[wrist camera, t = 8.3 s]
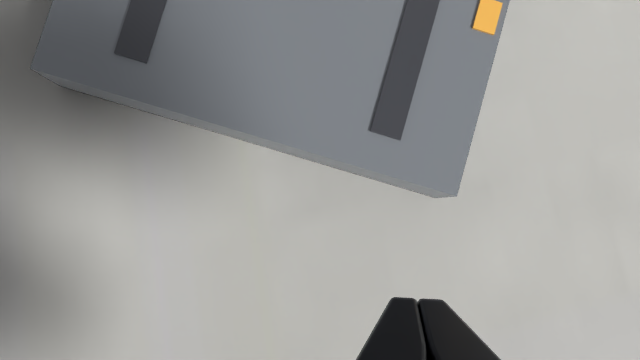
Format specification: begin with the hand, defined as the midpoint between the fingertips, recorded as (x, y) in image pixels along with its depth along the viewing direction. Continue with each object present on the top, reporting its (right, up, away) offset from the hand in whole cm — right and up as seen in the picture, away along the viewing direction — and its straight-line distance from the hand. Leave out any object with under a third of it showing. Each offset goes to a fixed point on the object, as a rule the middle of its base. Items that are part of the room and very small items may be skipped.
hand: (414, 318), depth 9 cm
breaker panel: (-2, +10, +13) cm, 16 cm away
